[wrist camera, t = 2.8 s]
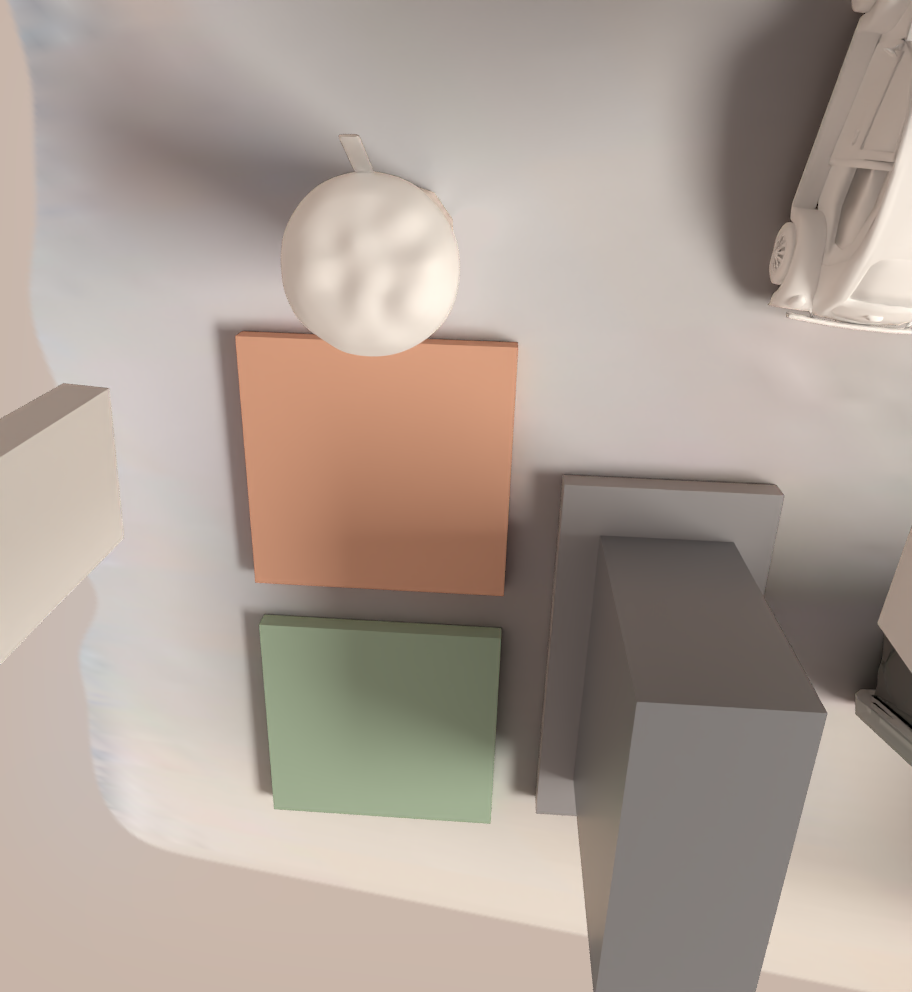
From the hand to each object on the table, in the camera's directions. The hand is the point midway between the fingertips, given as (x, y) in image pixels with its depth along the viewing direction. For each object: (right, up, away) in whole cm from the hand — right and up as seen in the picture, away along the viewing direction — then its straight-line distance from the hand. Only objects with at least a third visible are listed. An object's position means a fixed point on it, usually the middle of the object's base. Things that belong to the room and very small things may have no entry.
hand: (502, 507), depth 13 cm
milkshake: (-2, +10, +15) cm, 18 cm away
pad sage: (-4, -10, +23) cm, 25 cm away
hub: (+7, -7, +21) cm, 23 cm away
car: (+13, +12, +13) cm, 22 cm away
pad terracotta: (-4, +1, +18) cm, 19 cm away
